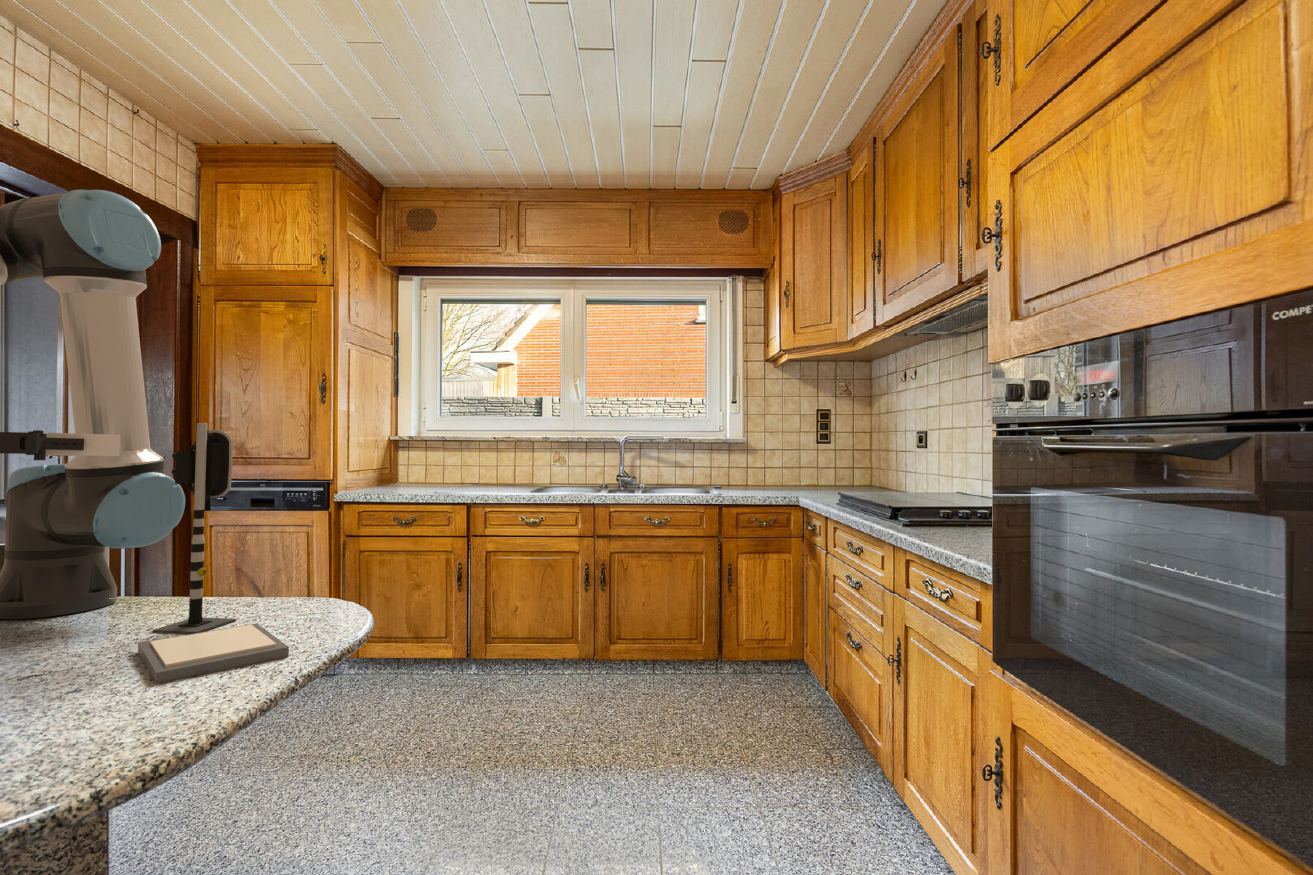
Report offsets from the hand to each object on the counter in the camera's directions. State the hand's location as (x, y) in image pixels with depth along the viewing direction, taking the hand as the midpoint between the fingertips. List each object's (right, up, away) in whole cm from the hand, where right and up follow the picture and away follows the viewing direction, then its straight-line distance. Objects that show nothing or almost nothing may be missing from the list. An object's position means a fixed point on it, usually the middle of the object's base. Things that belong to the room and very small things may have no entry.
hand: (114, 445), depth 82 cm
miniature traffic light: (+5, -27, +8) cm, 28 cm away
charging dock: (+17, -26, -5) cm, 32 cm away
